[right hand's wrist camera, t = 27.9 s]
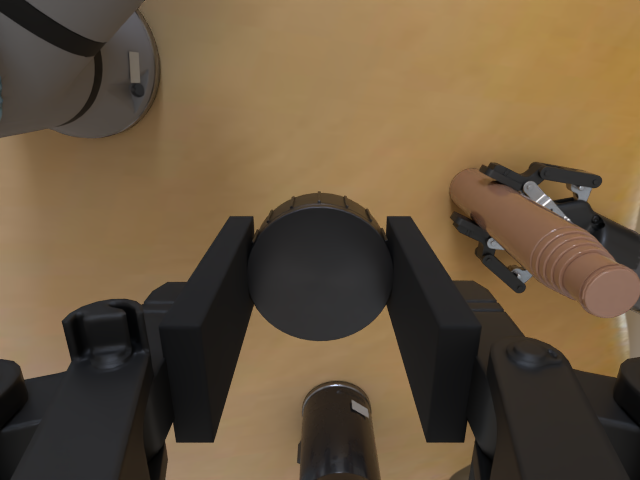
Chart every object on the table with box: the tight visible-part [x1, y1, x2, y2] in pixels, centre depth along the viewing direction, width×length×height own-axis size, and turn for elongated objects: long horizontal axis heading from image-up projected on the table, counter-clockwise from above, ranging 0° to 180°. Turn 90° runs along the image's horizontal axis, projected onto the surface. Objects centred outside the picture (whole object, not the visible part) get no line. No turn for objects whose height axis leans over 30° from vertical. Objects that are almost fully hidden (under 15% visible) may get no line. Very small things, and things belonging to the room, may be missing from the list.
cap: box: [247, 191, 393, 341], centre depth 13 cm, size 4×4×2 cm
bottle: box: [450, 168, 640, 318], centre depth 37 cm, size 5×5×25 cm
